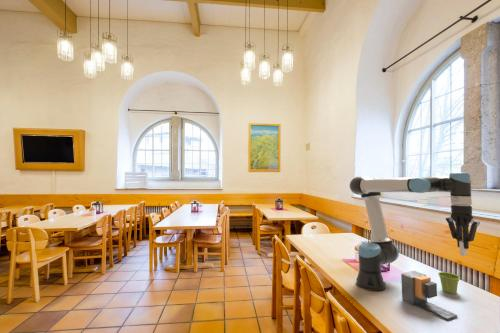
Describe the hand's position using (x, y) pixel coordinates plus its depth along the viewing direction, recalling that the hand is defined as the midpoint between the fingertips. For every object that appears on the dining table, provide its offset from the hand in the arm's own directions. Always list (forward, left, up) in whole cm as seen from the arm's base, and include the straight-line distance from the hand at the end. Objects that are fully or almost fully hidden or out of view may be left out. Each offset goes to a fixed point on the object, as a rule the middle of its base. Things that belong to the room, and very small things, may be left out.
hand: (463, 255), depth 115 cm
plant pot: (-16, +16, -27) cm, 35 cm away
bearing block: (-9, -12, -26) cm, 30 cm away
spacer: (-12, -12, -22) cm, 27 cm away
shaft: (-14, -12, -20) cm, 28 cm away
